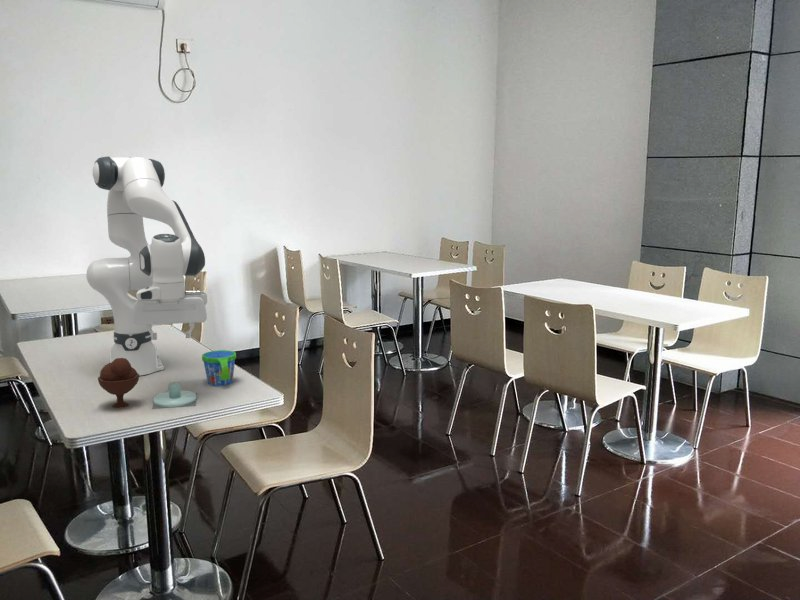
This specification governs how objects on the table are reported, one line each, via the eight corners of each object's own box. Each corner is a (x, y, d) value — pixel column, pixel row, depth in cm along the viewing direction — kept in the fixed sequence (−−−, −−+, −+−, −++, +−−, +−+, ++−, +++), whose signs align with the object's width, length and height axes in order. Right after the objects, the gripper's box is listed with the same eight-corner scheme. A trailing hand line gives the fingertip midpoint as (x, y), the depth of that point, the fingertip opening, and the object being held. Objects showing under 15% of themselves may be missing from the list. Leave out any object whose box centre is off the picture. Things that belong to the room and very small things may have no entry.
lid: (155, 395, 209) (154, 379, 208) (196, 393, 212) (196, 376, 211) (151, 408, 197) (150, 391, 196) (195, 405, 200) (195, 388, 199)
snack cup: (201, 379, 228) (199, 349, 227) (233, 376, 232) (232, 346, 230) (205, 393, 214) (204, 361, 212) (240, 389, 218) (239, 358, 216)
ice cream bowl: (145, 401, 206) (142, 352, 203) (132, 414, 195) (129, 362, 192) (109, 401, 206) (106, 352, 203) (94, 414, 195) (90, 362, 192)
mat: (155, 398, 209) (155, 395, 209) (197, 395, 212) (196, 393, 212) (152, 411, 197) (151, 408, 197) (196, 408, 200) (195, 405, 200)
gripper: (206, 288, 204) (208, 334, 207) (132, 290, 199) (135, 338, 201) (206, 291, 198) (208, 339, 201) (130, 294, 193) (133, 342, 195)
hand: (171, 338), depth 201 cm, fingers open, 8 cm apart
